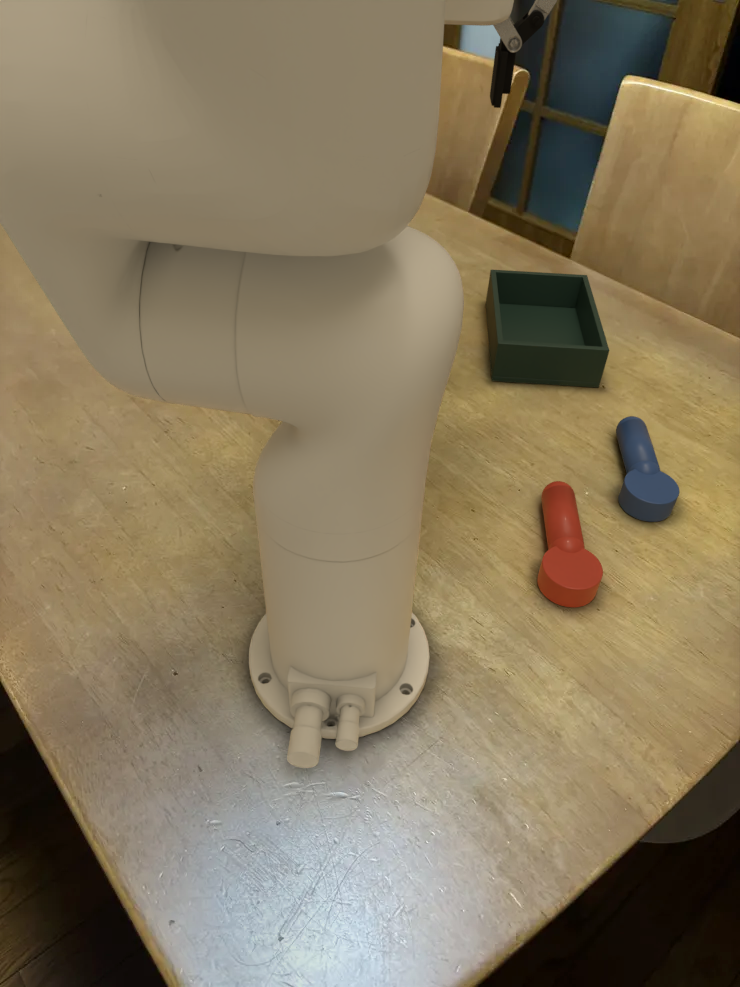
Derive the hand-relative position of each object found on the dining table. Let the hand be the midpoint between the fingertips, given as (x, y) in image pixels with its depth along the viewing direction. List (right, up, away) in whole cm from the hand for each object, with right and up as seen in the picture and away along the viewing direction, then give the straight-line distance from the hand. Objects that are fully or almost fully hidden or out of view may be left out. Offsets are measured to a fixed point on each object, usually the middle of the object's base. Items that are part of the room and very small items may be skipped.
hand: (436, 100), depth 62 cm
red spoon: (+10, -37, -1) cm, 39 cm away
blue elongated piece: (+19, -31, +6) cm, 37 cm away
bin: (+13, -16, +23) cm, 31 cm away
